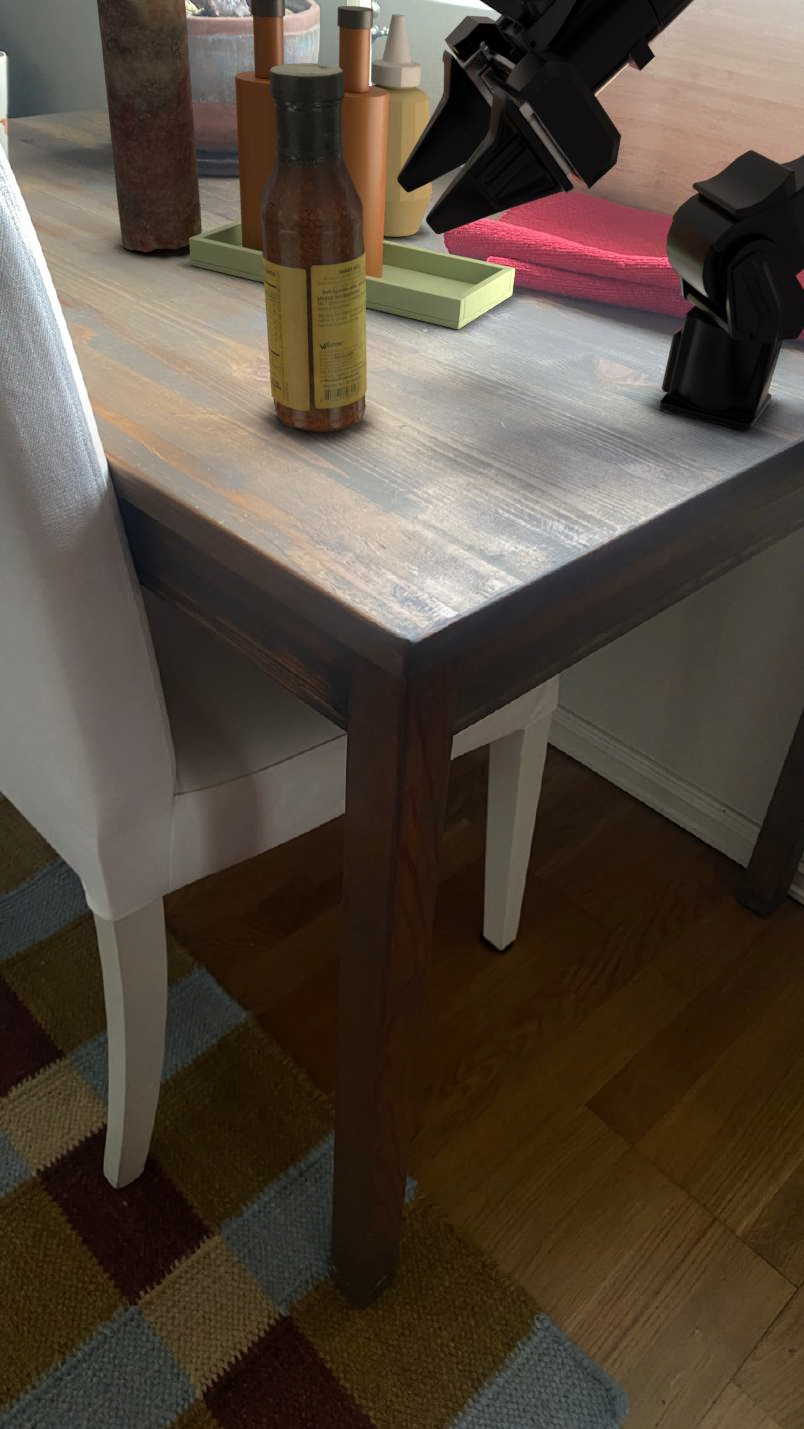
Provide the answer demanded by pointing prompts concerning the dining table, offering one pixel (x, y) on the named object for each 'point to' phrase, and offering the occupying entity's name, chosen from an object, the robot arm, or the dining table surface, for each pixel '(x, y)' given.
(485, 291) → the bottle tray
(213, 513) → the dining table surface
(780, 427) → the dining table surface
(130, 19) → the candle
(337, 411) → the sauce bottle
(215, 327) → the dining table surface
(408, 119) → the squeeze bottle
